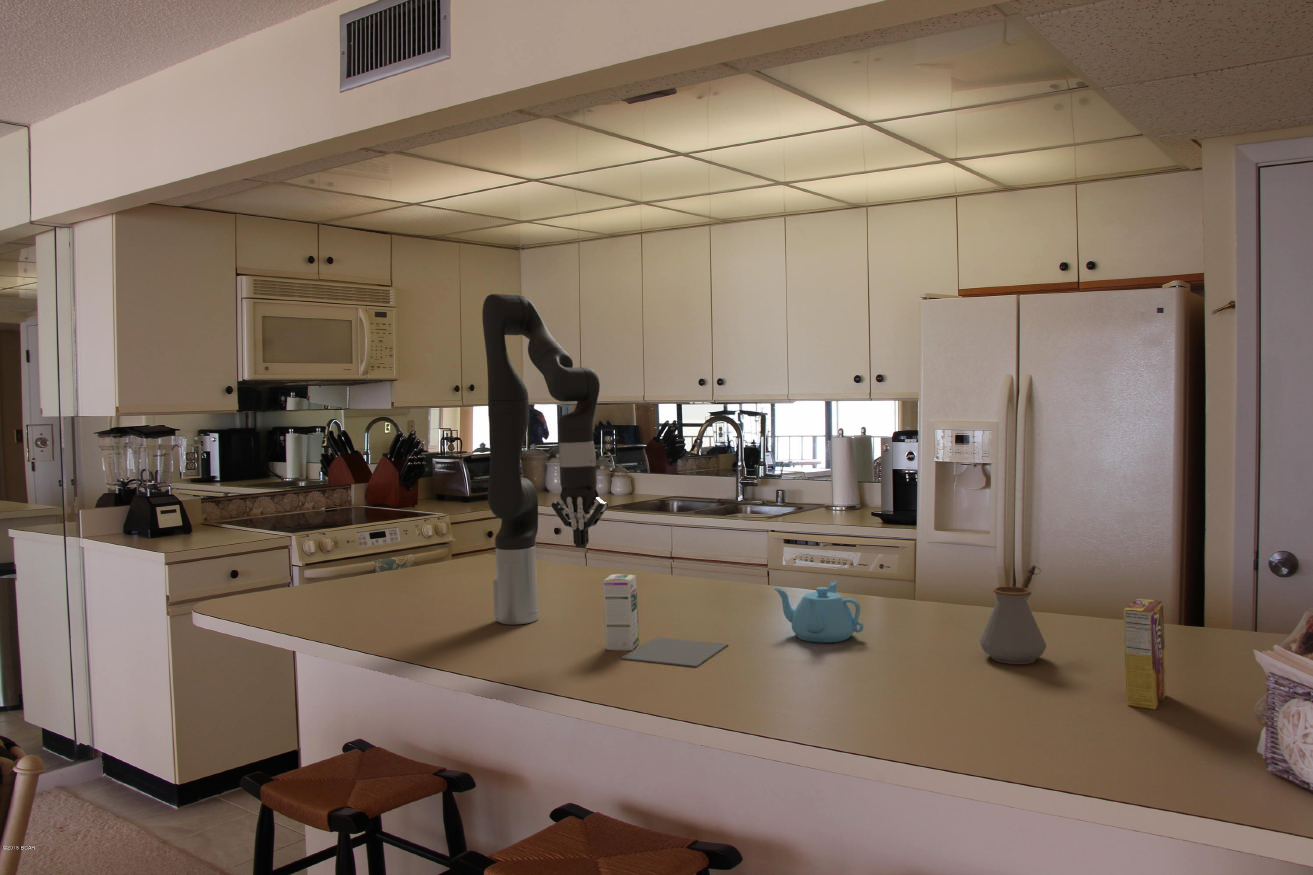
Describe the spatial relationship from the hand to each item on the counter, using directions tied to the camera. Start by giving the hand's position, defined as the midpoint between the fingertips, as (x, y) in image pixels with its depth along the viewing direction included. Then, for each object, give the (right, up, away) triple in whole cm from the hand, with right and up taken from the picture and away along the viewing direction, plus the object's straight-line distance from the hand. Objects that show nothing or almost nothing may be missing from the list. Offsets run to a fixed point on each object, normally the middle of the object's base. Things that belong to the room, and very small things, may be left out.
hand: (581, 546), depth 187 cm
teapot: (+49, -19, 0) cm, 53 cm away
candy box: (+93, -19, -45) cm, 105 cm away
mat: (+19, -20, -9) cm, 29 cm away
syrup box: (+9, -20, -3) cm, 22 cm away
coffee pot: (+85, -18, -16) cm, 88 cm away
